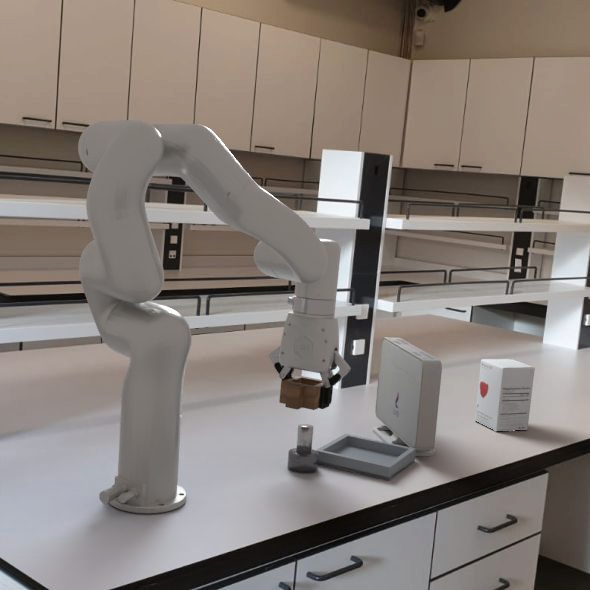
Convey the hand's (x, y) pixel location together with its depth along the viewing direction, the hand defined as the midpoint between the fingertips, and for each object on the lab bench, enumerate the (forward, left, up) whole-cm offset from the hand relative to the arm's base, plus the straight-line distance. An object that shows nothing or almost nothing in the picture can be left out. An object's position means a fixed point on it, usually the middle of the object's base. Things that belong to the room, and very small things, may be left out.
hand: (305, 402), depth 158 cm
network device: (+30, -9, -13) cm, 33 cm away
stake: (+1, 0, -12) cm, 12 cm away
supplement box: (+57, -23, -13) cm, 62 cm away
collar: (0, 0, 0) cm, 0 cm away
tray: (+12, -8, -12) cm, 19 cm away
